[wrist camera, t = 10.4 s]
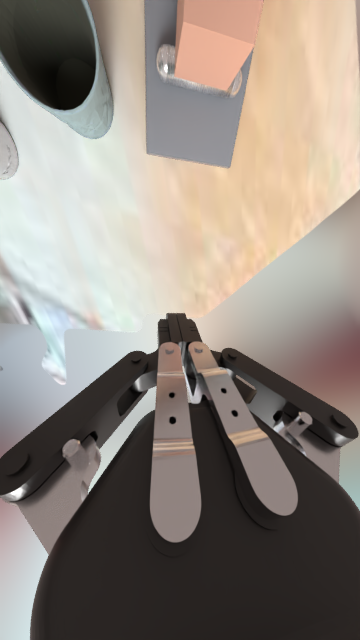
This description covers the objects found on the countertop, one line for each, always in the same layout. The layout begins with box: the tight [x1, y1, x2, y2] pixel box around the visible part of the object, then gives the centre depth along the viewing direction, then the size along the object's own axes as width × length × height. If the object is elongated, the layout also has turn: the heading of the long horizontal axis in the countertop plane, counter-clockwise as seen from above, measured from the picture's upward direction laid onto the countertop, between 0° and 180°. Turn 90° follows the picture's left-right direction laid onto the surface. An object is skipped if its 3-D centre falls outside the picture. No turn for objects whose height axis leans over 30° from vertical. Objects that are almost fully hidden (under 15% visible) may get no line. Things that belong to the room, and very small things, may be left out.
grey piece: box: [145, 0, 254, 168], centre depth 21 cm, size 26×16×6 cm, turn 174°
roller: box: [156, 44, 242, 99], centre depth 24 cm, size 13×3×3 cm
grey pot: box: [0, 0, 113, 139], centre depth 20 cm, size 10×10×12 cm
